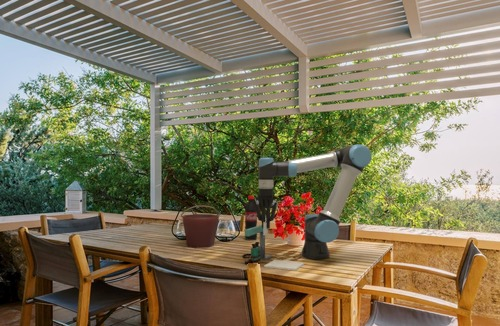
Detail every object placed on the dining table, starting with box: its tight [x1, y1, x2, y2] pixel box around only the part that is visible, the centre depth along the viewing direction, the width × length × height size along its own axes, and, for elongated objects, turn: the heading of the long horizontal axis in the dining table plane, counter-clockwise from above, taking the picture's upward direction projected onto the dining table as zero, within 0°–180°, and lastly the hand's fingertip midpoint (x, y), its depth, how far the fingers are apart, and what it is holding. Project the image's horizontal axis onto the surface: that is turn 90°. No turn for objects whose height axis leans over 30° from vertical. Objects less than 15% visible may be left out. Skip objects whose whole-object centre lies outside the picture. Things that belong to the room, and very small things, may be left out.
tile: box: [263, 259, 305, 272], centre depth 196 cm, size 16×14×1 cm
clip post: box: [259, 231, 273, 261], centre depth 214 cm, size 8×8×14 cm
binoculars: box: [241, 241, 262, 264], centre depth 201 cm, size 9×11×10 cm
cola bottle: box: [244, 195, 258, 241], centre depth 273 cm, size 8×8×30 cm
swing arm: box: [244, 224, 263, 237], centre depth 206 cm, size 22×4×3 cm, turn 155°
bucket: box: [180, 205, 221, 249], centre depth 249 cm, size 24×22×25 cm
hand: (265, 234), depth 200 cm, fingers closed
